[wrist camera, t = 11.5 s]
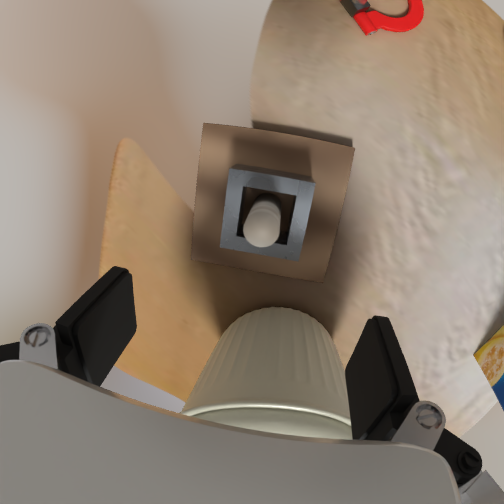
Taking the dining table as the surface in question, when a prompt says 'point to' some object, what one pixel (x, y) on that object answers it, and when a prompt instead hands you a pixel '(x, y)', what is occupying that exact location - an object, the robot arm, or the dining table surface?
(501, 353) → the beverage box
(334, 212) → the post plate
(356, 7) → the tow hook
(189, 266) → the dining table surface
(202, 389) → the canister
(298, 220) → the collar
